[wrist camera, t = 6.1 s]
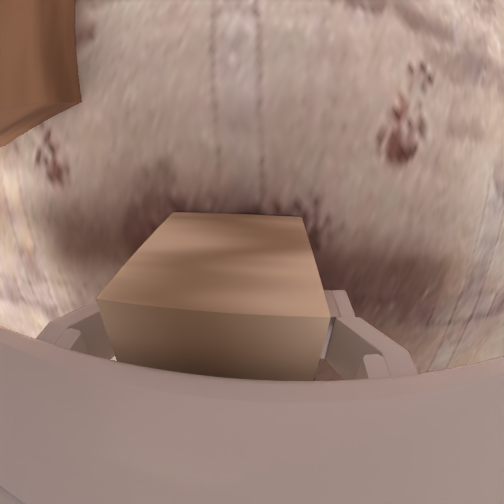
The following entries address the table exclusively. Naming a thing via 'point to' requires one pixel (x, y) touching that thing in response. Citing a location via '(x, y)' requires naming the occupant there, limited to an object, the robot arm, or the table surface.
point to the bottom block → (36, 63)
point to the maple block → (220, 299)
